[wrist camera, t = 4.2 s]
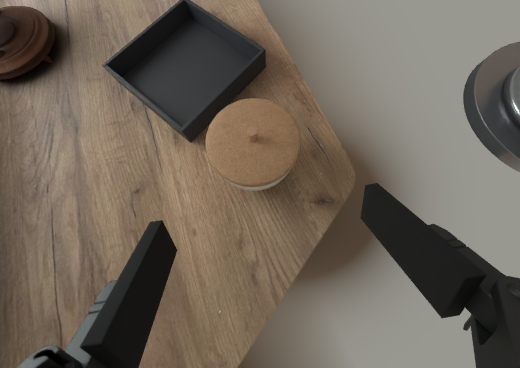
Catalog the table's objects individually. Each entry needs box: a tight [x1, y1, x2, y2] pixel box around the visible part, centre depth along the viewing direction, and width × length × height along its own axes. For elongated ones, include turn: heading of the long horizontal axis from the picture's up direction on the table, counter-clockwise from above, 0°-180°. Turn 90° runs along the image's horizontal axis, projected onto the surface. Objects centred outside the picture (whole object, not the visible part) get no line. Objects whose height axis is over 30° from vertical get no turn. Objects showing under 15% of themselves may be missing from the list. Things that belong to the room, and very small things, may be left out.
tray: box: [102, 0, 266, 142], centre depth 33 cm, size 18×18×3 cm
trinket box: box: [206, 98, 301, 191], centre depth 26 cm, size 11×11×9 cm
